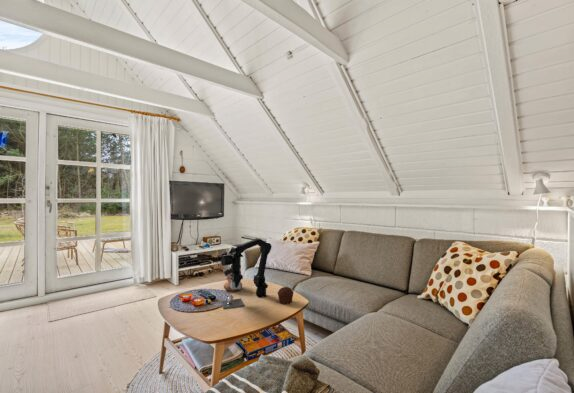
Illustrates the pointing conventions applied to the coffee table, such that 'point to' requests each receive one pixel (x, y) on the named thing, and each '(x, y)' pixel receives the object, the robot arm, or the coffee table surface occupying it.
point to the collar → (232, 284)
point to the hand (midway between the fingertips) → (235, 286)
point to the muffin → (285, 295)
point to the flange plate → (232, 303)
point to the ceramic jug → (227, 284)
